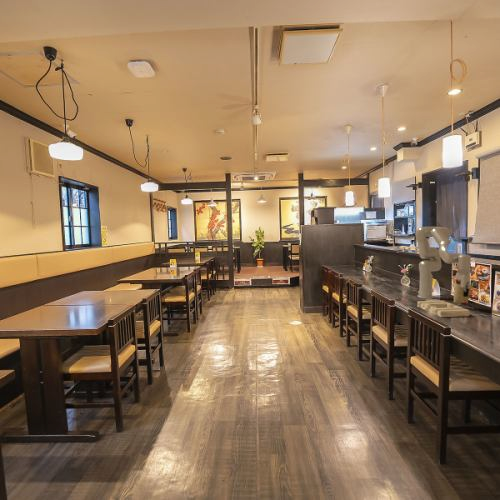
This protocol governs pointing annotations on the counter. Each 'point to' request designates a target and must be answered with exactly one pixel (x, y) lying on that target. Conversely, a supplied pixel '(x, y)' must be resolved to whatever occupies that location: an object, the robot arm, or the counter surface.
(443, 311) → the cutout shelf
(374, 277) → the counter surface
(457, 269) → the robot arm
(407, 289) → the counter surface
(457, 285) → the food model
